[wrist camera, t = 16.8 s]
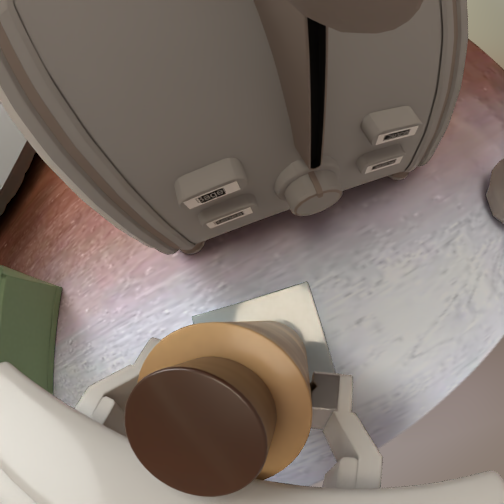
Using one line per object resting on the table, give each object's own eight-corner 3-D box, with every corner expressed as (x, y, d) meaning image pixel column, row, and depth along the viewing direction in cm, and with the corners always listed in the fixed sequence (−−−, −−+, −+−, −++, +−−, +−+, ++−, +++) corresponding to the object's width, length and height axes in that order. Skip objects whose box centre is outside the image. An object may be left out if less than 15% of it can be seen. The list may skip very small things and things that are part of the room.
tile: (341, 395, 16) (342, 397, 16) (226, 424, 17) (224, 427, 17) (307, 281, 18) (307, 280, 18) (194, 316, 19) (191, 316, 19)
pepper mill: (316, 384, 16) (337, 508, 4) (240, 403, 17) (137, 518, 4) (293, 310, 18) (273, 290, 5) (219, 332, 18) (72, 345, 6)
